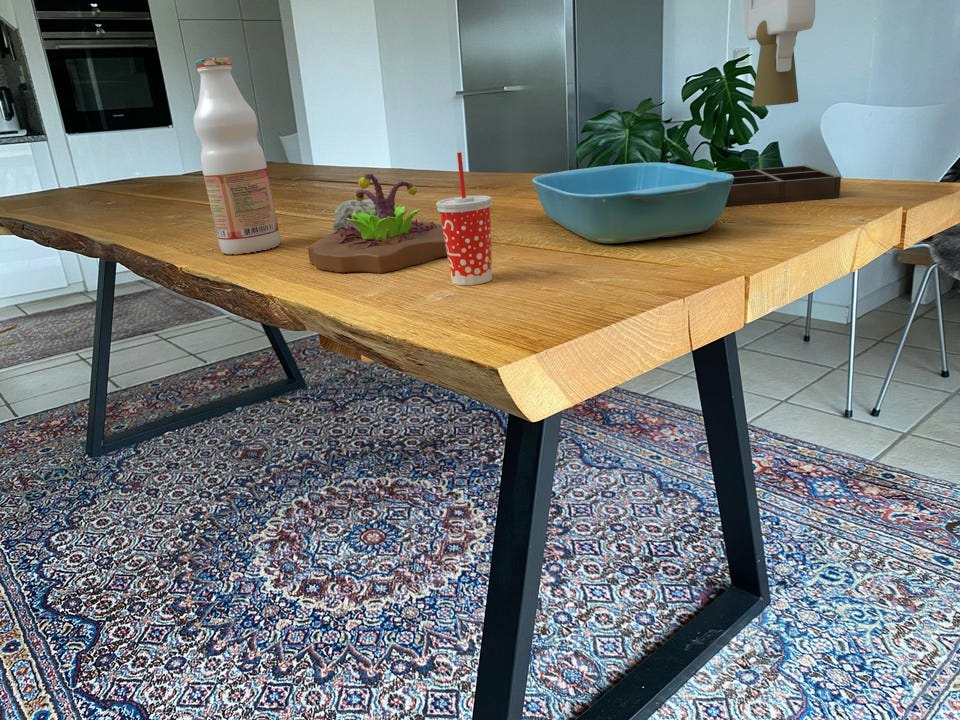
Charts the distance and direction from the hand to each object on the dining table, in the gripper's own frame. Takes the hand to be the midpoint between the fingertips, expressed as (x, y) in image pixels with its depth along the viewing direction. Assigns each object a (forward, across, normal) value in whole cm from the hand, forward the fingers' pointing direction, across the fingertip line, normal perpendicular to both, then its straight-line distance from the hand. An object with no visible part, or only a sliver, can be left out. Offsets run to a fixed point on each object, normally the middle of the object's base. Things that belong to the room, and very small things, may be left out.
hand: (776, 72), depth 101 cm
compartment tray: (+19, +13, -3) cm, 23 cm away
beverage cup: (+18, -31, +41) cm, 54 cm away
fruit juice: (+18, 0, +80) cm, 81 cm away
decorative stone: (+18, +12, +64) cm, 68 cm away
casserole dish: (+18, -4, +22) cm, 29 cm away
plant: (+18, -14, +55) cm, 59 cm away
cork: (+4, 0, 0) cm, 4 cm away
